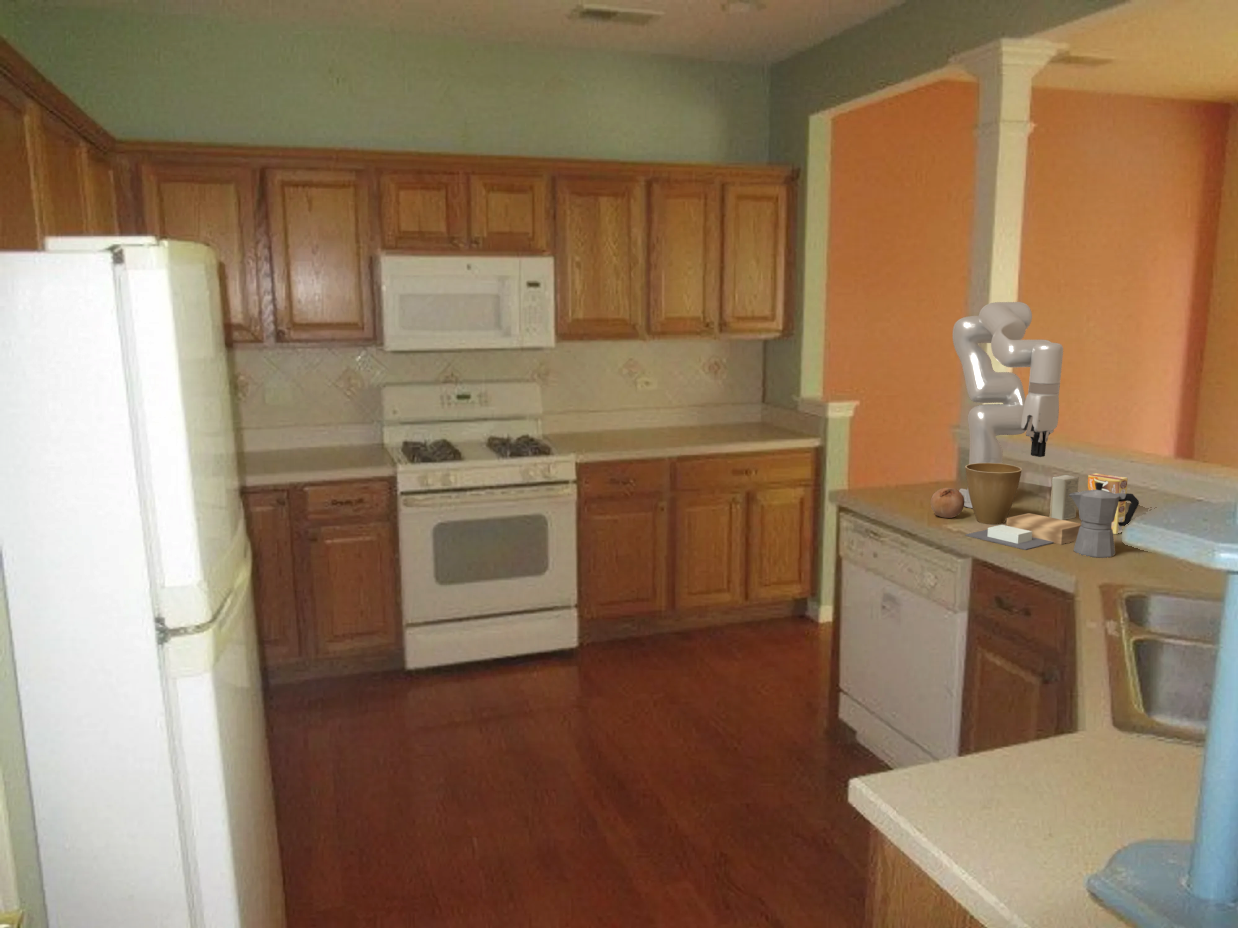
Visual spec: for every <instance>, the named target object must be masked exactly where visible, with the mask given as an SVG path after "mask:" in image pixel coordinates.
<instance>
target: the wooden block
mask: <svg viewBox="0 0 1238 928" xmlns="http://www.w3.org/2000/svg"><path fill="white" fill-rule="evenodd" d="M1005 524H1006V526H1010V527H1015V528H1019V529H1024V530H1028V531H1032V537H1034V538H1039V539H1043V540H1048V541H1052V542H1054V543H1053V544H1056V545H1060V546H1061V545H1066V544H1069V543H1074V542H1076V539H1077V535H1078V532H1079V528H1080V526H1081V522H1074V521H1070V520H1061V519H1056V518H1051V517H1050V516H1046V515H1045V516H1044V515H1040V514H1035V513H1024V514H1019V515H1015V516H1009V517H1007V518H1006V523H1005ZM1065 543H1066V544H1065Z"/></svg>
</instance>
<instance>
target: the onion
mask: <svg viewBox="0 0 1238 928" xmlns="http://www.w3.org/2000/svg"><path fill="white" fill-rule="evenodd" d="M964 502H965V501H964V496H963V495H962V494H961V493H960V492H959V490H958V489H956V488H952V487H944V488H939V489H937V490H936V491H935V492H934V493H933V494H932V497H931V498H930V507H931V510H932V511H933V514H934V515H936V516H937V517H940V518H944V519H953V518H955V517H956V516H958V515H959V514H961V512H962V511H963V509H964V507H965V506H964Z"/></svg>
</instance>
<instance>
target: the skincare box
mask: <svg viewBox="0 0 1238 928" xmlns="http://www.w3.org/2000/svg"><path fill="white" fill-rule="evenodd" d="M1051 479H1052V480H1051V492H1050V494H1051V495H1050V504H1049V505H1050V507H1049V517H1051V518H1056V519H1061V520H1065V521H1067V520H1070V519H1074V518H1076V517H1077V508H1078V507H1077V506H1076V504H1075V502H1074V500H1073V499H1072V497H1070V496H1069V494H1070V493H1075V492H1079V481H1080V480H1079V479H1080V478H1079V476H1078V477H1077V476H1073V475H1068V474H1063V475H1057V476H1053V477H1052V478H1051Z"/></svg>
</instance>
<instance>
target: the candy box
mask: <svg viewBox="0 0 1238 928" xmlns="http://www.w3.org/2000/svg"><path fill="white" fill-rule="evenodd" d="M1087 479H1088V480H1087V490H1096V489H1097V488H1096V483H1099V482H1100V483H1103V487H1102V490H1104V491H1108V492H1111V493H1114V494H1115V493H1125V494H1126V493H1127V492H1128V491H1127V489H1128V477H1125V476H1117V475H1111V474H1110V475H1109V474H1104V473H1098V472H1097V473H1096V472H1095V473H1091V474H1088V476H1087ZM1087 490H1086V491H1087ZM1126 503H1127V501H1119V502H1118V506H1117V510H1116V514H1115V518H1114V521H1113V522H1112V524H1111V529H1112V530H1113V535H1119V534H1122V533H1123V532H1122V529H1123V527H1124V528H1125V526H1119V524H1118V522H1124V520H1125V515H1126V505H1127V504H1126ZM1121 532H1122V533H1121ZM1118 533H1119V534H1118Z"/></svg>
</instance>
